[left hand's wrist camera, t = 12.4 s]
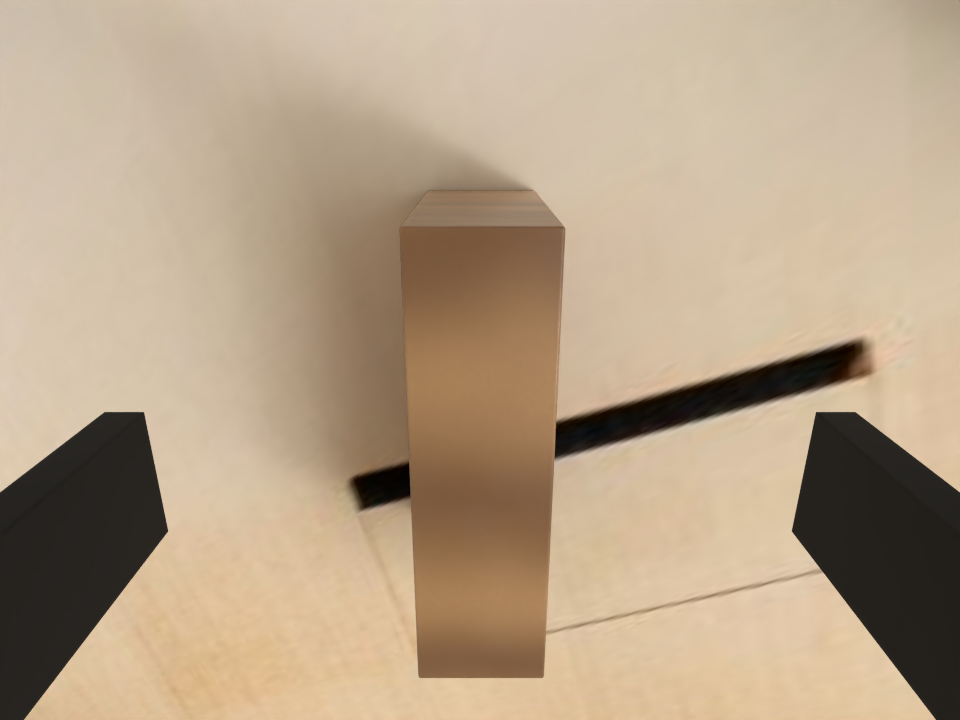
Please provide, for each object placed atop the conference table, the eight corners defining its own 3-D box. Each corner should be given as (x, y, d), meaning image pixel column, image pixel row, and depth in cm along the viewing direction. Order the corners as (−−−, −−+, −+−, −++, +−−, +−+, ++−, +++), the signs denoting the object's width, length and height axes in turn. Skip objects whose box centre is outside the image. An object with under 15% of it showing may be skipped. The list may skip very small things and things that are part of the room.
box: (427, 190, 34) (398, 226, 22) (535, 190, 34) (565, 226, 22) (436, 517, 41) (418, 679, 29) (525, 517, 41) (543, 678, 29)
